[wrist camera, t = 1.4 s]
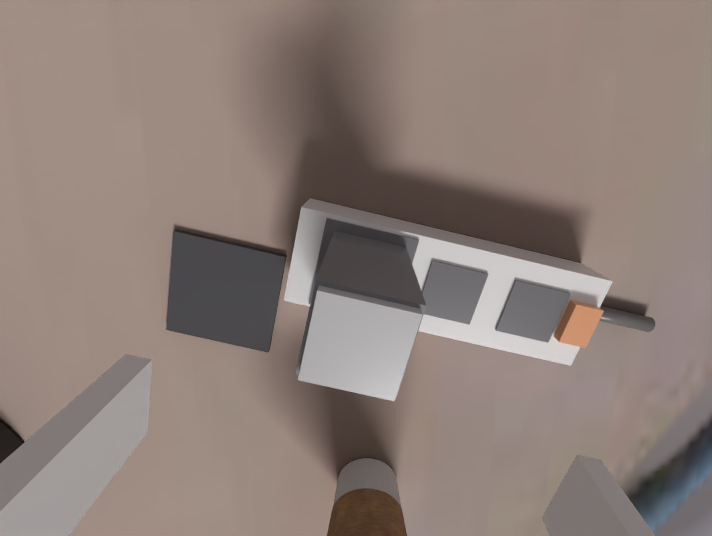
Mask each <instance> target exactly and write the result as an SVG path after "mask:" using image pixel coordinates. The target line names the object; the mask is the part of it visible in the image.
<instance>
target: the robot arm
mask: <svg viewBox="0 0 712 536" xmlns="http://www.w3.org/2000/svg"><path fill="white" fill-rule="evenodd" d="M151 368H152V360H150V359H146V358H141V357H137V356H132V355H128V354H126V355H124V356H123V357H122V358H121V359H120V360H119V361H118V362H116V363H115V364H114V365H113V366H112V367H111V368H110V369H108V370H107V371H106V372H105V373H104V374H103V375H102V376H100V377H99V378H98V379H97V380H96V381H95V382H93V383H92V384H91V385H90V386H89V387H88V388H87V389H85V390H84V391H83V392H82V393H81V394H80V395H79V396H77V397H76V398H75V399H74V400H73V401H72V402H70V403H69V404H68V405H67V406H66V407H65V408H64V409H62V410H61V411H60V412H59V413H58V414H57V415H56V416H54V417H53V418H52V419H51V420H50V421H49V422H48V423H46V424H45V425H44V426H43V427H42V428H41V429H39V430H38V431H37V432H36V433H35V434H34V435H33V436H31V437H30V438H29V439H28V440H27V441H26V442H25V443H22V442H21V441H20V440H19V438H18V437H17V436H16V435H15V434H14V433H13V432H12V431H11V430H10V429H9V428H8V427H6V426H5V425H4V424H3V423H1V422H0V536H69V534H70V533H71V532H72V530H73V529H74V528H75V526H76V525H77V524H78V523H79V521H80V520H81V519H82V517H83V516H84V515H85V513H86V512H87V511H88V510H89V508H90V507H91V506H92V504H93V503H94V502H95V500H96V499H97V498H98V497H99V495H100V494H101V493H102V491H103V490H104V489H105V487H106V486H107V485H108V483H109V482H110V481H111V480H112V478H113V477H114V476H115V474H116V473H117V472H118V470H119V469H120V468H121V467H122V465H123V464H124V463H125V461H126V460H127V459H128V457H129V456H130V455H131V454H132V452H133V451H134V450H135V448H136V447H137V446H138V444H139V443H140V442H141V440H142V439H143V438H144V437H145V435H146V434H147V433H148V418H149V401H150V385H151ZM542 519H543V521H544V523H545V525H546V528H547V530H548V532H549V534H550V536H655V535H654V534H653V532H652V531H651V529H650V528H649V527H648V525H647V524H646V522H645V521H644V520H643V518H642V517H641V515H640V514H639V513H638V511H637V510H636V508H635V507H634V506H633V504H632V503H631V501H630V500H629V499H628V497H627V496H626V494H625V493H624V492H623V490H622V489H621V487H620V486H619V485H618V483H617V482H616V480H615V479H614V478H613V476H612V475H611V473H610V472H609V471H608V469H607V468H606V466H605V465H604V464H603V462H602V461H601V460H599V459H595V458H590V457H586V456H581V455H577V456H576V458H575V459H574V461H573V463H572V465H571V466H570V468H569V470H568V472H567V474H566V475H565V477H564V479H563V481H562V483H561V484H560V486H559V488H558V490H557V492H556V493H555V495H554V497H553V499H552V500H551V502H550V504H549V506H548V508H547V509H546V511H545V513H544V515H543V517H542Z"/></svg>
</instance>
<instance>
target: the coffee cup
mask: <svg viewBox="0 0 712 536" xmlns="http://www.w3.org/2000/svg"><path fill="white" fill-rule="evenodd" d="M327 536H407V534H406V528H405V523H404V518H403V513H402V508H401V503H400V497H399V491H398V485H397V479H396V475H395V473H394V471H393V470H392V469H391V468H390V467H389V466H388V465H387V464H385V463H384V462H382V461H379V460H376V459H371V458H363V459H357V460H354V461H352V462H350V463H348V464H347V465H346V466H345V467H344V468H343V469H342V470H341V472H340V474H339V477H338V482H337V488H336V493H335V499H334V505H333V509H332V513H331V518H330V523H329V528H328V533H327Z"/></svg>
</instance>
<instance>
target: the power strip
mask: <svg viewBox="0 0 712 536" xmlns="http://www.w3.org/2000/svg"><path fill="white" fill-rule="evenodd" d="M334 231H338V232H343V233H347V234H351V235H355V236H359V237H364V238H368V239H372V240H376V241H381V242H385V243H389V244H393V245H397V246H402V247H406V248H407V251H408V254H409V257H410V260H411V262H412V265H413V268H414V271H415V274H416V277H417V280H418V283H419V286H420V288H421V291H422V294H423V297H424V300H425V303H426V309H425V312H424V315H423V318H422V321H421V324H420V327H419V330H418V331H420V332H425V333H429V334H434V335H438V336H442V337H447V338H451V339H456V340H460V341H464V342H469V343H473V344H478V345H482V346H486V347H491V348H495V349H500V350H504V351H508V352H513V353H517V354H522V355H526V356H531V357H535V358H539V359H544V360H548V361H553V362H557V363H561V364H566V365H570V366H571V364H572V362H573V360H574V358H575V356H576V354H577V352H578V350H579V348H580V347H583V348H586V346H587V344H588V342H589V340H590V338H591V336H592V334H593V332H594V330H595V328H596V326H597V324H598V322H599V321H603V322H607V323H612V324H616V325H620V326H625V327H629V328H633V329H637V330H642V331H646V332H650V331H652V330H653V329H654V327H655V321H654V319H653V318H651V317H646V316H642V315H638V314H634V313H629V312H625V311H621V310H617V309H612V308H608V307H604V306H601V304H602V302H603V300H604V298H605V296H606V294H607V292H608V290H609V288H610V286H611V284H612V282H613V281H611V280H610V279H608V278H606V277H605V276H603V275H601V274H599V273H598V272H596V271H594V270H592V269H591V268H589V267H587V266H585V265H584V264H582V263H578V262H574V261H570V260H566V259H562V258H558V257H553V256H549V255H545V254H541V253H537V252H533V251H528V250H524V249H520V248H516V247H512V246H508V245H503V244H499V243H495V242H491V241H487V240H483V239H478V238H474V237H470V236H466V235H462V234H458V233H453V232H449V231H445V230H441V229H437V228H433V227H428V226H424V225H420V224H416V223H412V222H408V221H403V220H399V219H395V218H391V217H387V216H382V215H378V214H374V213H370V212H366V211H362V210H357V209H353V208H349V207H345V206H341V205H337V204H332V203H328V202H324V201H320V200H316V199H312V198H310V199H309V200H308V201H307V202H306V203H305V204H304V205H303V206H302V207H301V211H300V217H299V222H298V227H297V233H296V238H295V244H294V249H293V254H292V260H291V265H290V270H289V276H288V281H287V287H286V292H285V297H284V301H288V302H293V303H297V304H301V305H306V306H310V303H311V299H312V294H313V289H314V285H315V280H316V277H317V275H318V272H319V270H320V267H321V264H322V262H323V259H324V257H325V254H326V251H327V249H328V246H329V244H330V241H331V238H332V236H333V233H334Z"/></svg>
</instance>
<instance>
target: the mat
mask: <svg viewBox="0 0 712 536" xmlns="http://www.w3.org/2000/svg"><path fill="white" fill-rule="evenodd" d="M285 262H286V255H281V254H277V253H273V252H268V251H264V250H260V249H255V248H251V247H247V246H243V245H238V244H234V243H230V242H225V241H221V240H217V239H212V238H208V237H204V236H200V235H195V234H191V233H187V232H182V231H178V230H175V231H174V233H173V247H172V260H171V274H170V287H169V301H168V314H167V328H166V330H169V331H174V332H178V333H183V334H187V335H192V336H196V337H201V338H206V339H210V340H215V341H219V342H224V343H228V344H233V345H237V346H242V347H246V348H251V349H255V350H260V351H264V352H269V350H270V345H271V339H272V333H273V328H274V322H275V317H276V311H277V306H278V300H279V295H280V289H281V284H282V278H283V273H284V267H285Z"/></svg>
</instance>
